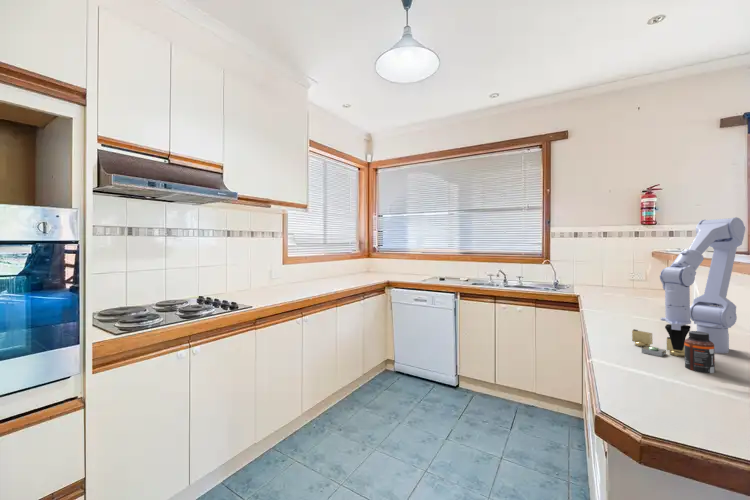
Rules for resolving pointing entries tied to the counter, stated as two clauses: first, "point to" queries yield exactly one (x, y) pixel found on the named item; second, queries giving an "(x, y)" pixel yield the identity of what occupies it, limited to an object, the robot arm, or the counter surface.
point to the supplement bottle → (699, 352)
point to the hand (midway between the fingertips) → (678, 349)
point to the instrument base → (654, 351)
